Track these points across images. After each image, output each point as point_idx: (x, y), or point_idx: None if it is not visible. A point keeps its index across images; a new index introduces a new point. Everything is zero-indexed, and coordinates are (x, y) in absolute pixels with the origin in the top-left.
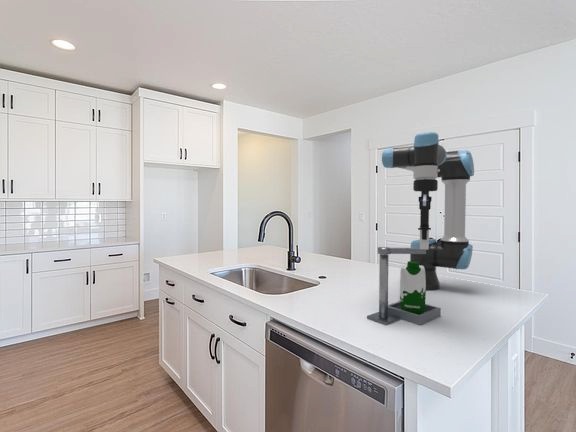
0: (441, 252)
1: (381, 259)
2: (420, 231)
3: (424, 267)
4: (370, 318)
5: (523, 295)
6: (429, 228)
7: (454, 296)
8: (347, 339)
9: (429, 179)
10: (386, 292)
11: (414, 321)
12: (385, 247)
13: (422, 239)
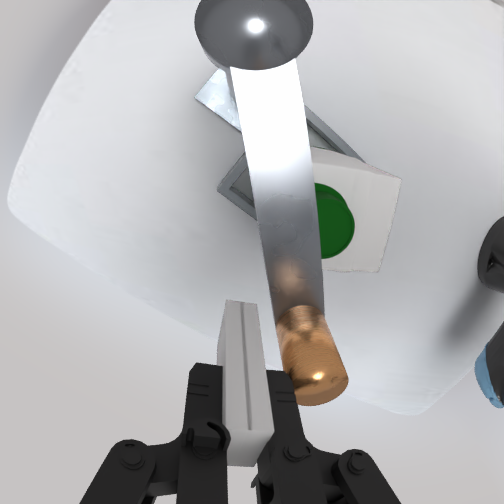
0: None
1: None
2: (224, 416)
3: None
4: None
5: (419, 398)
6: (255, 480)
7: (437, 304)
8: (94, 30)
9: None
10: (230, 88)
11: (228, 173)
12: (279, 31)
13: (194, 365)
